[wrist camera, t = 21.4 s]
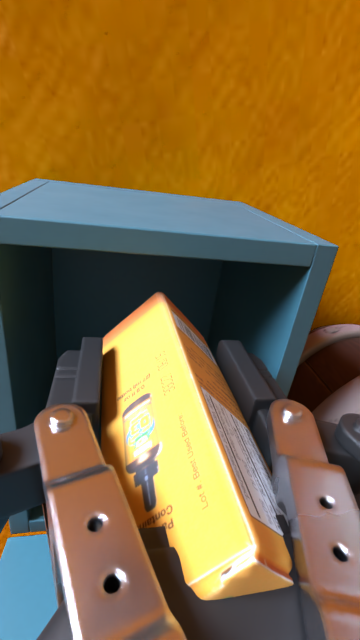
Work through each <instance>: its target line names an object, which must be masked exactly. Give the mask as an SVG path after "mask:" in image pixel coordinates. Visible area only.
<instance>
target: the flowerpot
mask: <svg viewBox="0 0 360 640" xmlns="http://www.w3.org/2000/svg"><path fill="white" fill-rule="evenodd" d="M287 399H289V400H293V401H296V402H298V403H300V404H302V405H303V406H305V407H306V408H307V409H309V411H310V412H311V413H312V414H313V416H314V419H317V420H321V421H325V422H330V423H335V424H338V423H339V420H340V418H341V416H342V415H344V414H347V413H355V414H359V415H360V325H355V324H339V325H328V326H322V327H319V328H316V329H313V330H311V331H310V332H309V335H308V338H307V341H306V344H305V346H304V349H303V352H302V355H301V358H300V361H299V364H298V367H297V370H296V373H295V376H294V378H293V381H292V384H291V387H290V390H289V393H288V396H287Z"/></svg>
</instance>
